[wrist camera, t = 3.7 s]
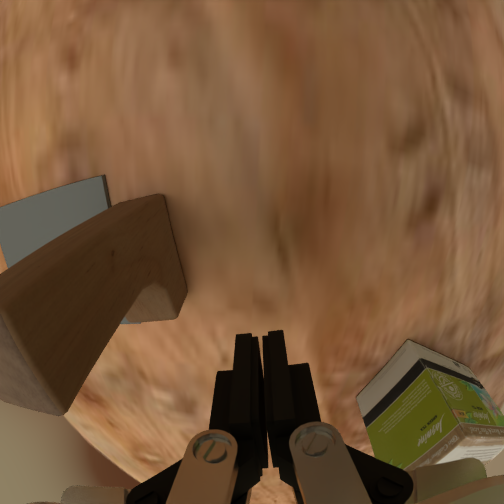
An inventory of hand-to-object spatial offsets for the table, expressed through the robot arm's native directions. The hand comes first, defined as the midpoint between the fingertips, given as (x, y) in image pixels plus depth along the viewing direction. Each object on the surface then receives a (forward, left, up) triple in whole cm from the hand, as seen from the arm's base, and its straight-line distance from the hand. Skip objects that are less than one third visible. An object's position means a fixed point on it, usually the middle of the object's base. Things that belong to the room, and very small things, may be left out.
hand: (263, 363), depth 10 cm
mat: (+20, 0, -15) cm, 25 cm away
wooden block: (+9, 0, -15) cm, 17 cm away
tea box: (-18, +21, -15) cm, 31 cm away
